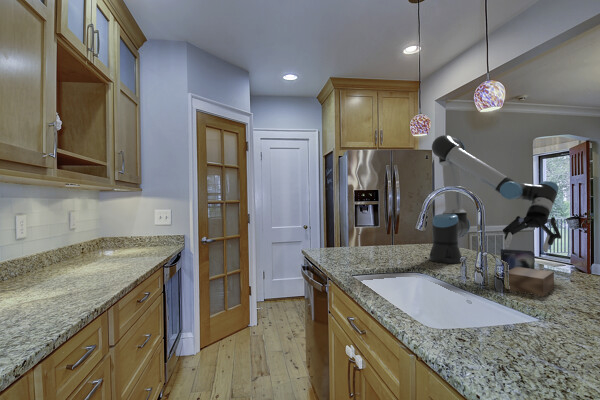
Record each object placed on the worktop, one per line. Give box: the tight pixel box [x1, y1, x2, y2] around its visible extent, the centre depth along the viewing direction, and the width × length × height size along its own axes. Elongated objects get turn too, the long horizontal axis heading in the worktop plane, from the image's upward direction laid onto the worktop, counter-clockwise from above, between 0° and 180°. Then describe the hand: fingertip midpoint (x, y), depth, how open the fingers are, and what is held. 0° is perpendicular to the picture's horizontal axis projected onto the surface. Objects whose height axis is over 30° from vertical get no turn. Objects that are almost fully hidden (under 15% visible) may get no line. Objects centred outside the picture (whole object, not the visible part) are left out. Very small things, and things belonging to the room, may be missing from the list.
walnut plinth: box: [509, 267, 555, 297], centre depth 106 cm, size 11×14×6 cm
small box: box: [500, 248, 535, 270], centre depth 121 cm, size 11×6×10 cm, turn 62°
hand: (524, 248), depth 124 cm, fingers open, 13 cm apart
